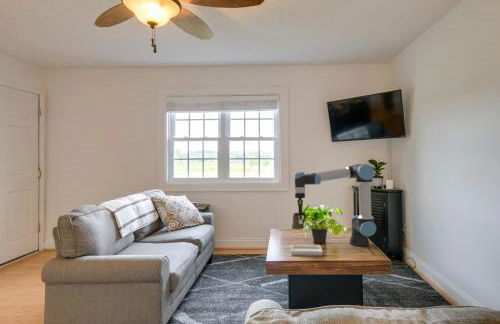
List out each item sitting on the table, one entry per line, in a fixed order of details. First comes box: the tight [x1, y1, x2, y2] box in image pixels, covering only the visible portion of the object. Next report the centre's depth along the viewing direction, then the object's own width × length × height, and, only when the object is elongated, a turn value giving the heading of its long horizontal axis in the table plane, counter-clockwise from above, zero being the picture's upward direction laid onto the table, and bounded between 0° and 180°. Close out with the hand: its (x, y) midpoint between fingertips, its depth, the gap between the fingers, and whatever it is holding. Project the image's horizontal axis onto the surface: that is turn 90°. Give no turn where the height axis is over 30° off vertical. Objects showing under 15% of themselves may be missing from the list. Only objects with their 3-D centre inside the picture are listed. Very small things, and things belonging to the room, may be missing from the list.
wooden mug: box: [291, 204, 310, 230], centre depth 236 cm, size 9×14×18 cm, turn 70°
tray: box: [290, 244, 324, 257], centre depth 230 cm, size 22×16×3 cm
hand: (300, 222), depth 237 cm, fingers closed on wooden mug, 7 cm apart
